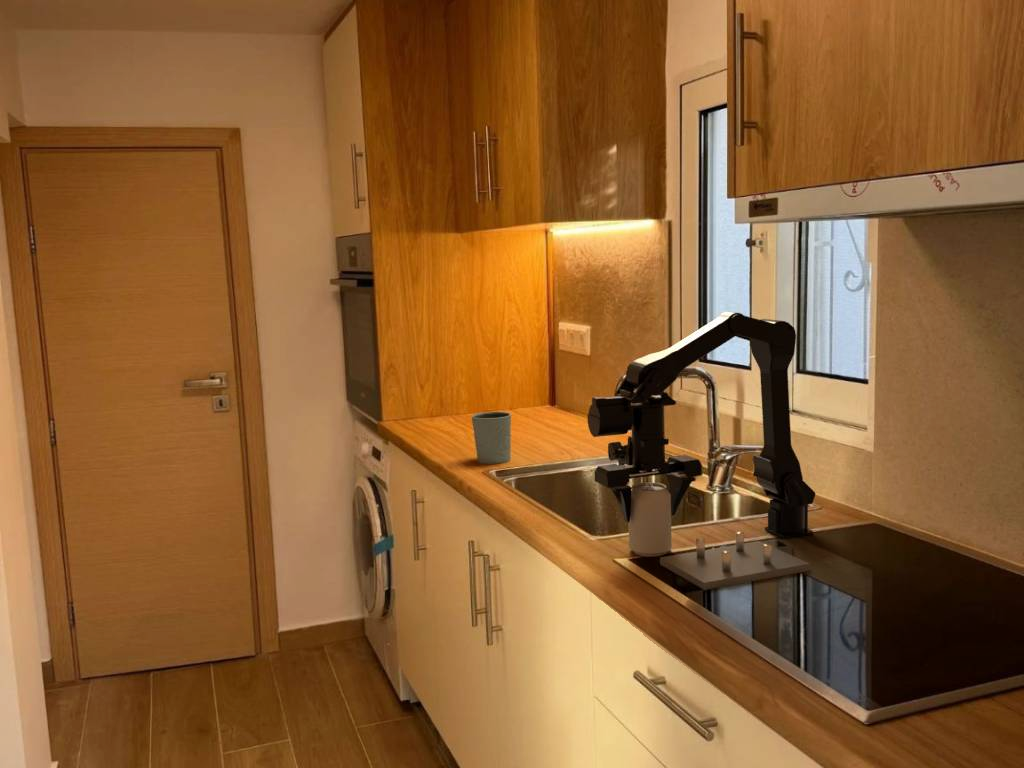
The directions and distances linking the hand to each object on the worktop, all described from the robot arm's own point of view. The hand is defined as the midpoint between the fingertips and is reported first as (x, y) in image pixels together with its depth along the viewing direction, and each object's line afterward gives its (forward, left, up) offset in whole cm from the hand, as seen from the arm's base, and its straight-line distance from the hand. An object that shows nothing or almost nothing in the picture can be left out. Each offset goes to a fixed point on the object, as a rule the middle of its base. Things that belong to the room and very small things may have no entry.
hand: (649, 518), depth 173 cm
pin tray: (-8, +14, -6) cm, 17 cm away
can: (0, 0, -6) cm, 6 cm away
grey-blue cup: (-1, -85, -6) cm, 85 cm away
